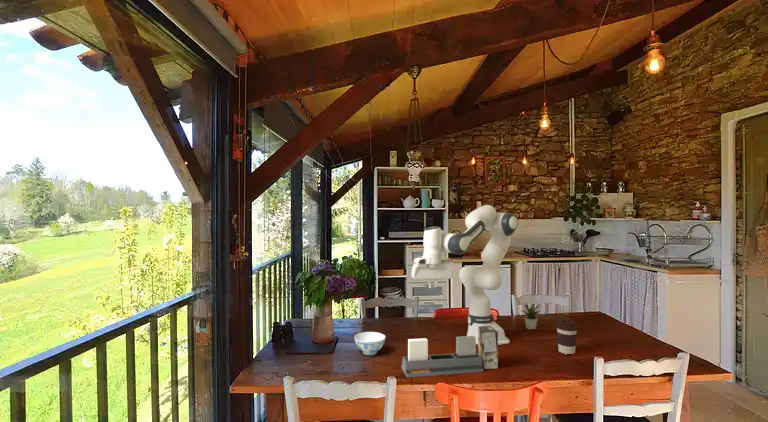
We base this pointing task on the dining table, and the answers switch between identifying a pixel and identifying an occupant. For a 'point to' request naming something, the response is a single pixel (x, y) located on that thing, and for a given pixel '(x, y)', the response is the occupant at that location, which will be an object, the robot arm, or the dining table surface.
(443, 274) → the robot arm
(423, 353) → the panel
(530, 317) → the house plant
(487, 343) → the coffee box
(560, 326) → the coffee cup
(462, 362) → the panel rack
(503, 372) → the dining table surface
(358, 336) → the chinaware
